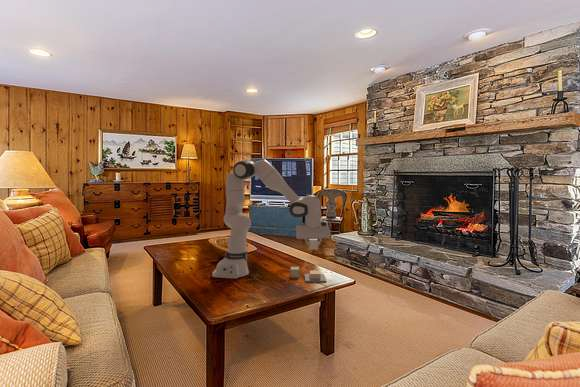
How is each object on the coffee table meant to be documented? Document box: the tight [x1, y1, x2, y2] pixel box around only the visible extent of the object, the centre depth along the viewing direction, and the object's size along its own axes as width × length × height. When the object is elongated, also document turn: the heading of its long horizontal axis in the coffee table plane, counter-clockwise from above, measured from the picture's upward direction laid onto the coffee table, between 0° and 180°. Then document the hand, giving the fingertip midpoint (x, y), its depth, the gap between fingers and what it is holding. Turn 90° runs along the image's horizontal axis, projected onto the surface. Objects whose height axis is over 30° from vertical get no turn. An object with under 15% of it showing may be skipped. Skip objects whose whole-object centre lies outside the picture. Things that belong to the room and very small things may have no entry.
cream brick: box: [308, 238, 319, 251], centre depth 182 cm, size 5×5×5 cm
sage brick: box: [290, 266, 300, 278], centre depth 189 cm, size 5×5×5 cm
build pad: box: [303, 270, 327, 283], centre depth 184 cm, size 12×12×4 cm
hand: (313, 245), depth 182 cm, fingers closed on cream brick, 5 cm apart
